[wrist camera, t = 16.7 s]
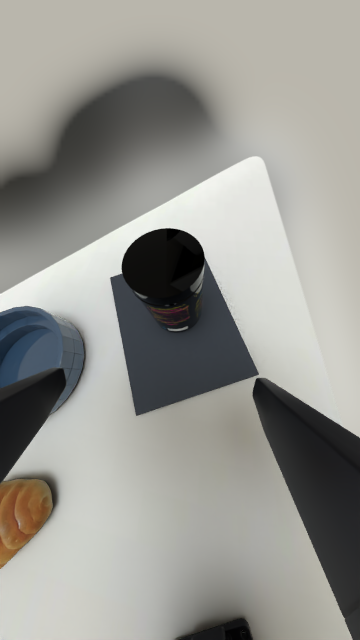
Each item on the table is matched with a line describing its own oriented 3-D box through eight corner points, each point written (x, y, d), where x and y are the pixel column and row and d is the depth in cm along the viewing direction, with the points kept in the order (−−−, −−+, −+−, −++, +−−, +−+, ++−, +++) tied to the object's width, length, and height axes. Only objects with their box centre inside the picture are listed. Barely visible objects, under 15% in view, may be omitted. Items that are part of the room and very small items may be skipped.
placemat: (257, 374, 20) (259, 374, 19) (137, 414, 20) (136, 415, 19) (200, 249, 27) (200, 247, 26) (111, 279, 27) (109, 277, 26)
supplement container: (196, 284, 24) (194, 220, 14) (208, 328, 22) (215, 286, 12) (151, 295, 24) (118, 238, 15) (157, 339, 22) (124, 307, 12)
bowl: (91, 403, 21) (65, 409, 17) (-18, 440, 21) (-69, 454, 17) (81, 305, 26) (59, 292, 22) (-7, 334, 26) (-44, 326, 22)
